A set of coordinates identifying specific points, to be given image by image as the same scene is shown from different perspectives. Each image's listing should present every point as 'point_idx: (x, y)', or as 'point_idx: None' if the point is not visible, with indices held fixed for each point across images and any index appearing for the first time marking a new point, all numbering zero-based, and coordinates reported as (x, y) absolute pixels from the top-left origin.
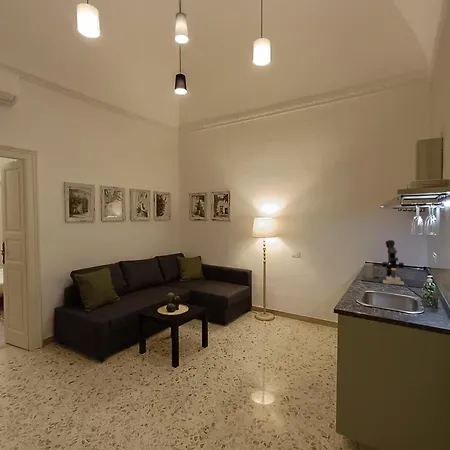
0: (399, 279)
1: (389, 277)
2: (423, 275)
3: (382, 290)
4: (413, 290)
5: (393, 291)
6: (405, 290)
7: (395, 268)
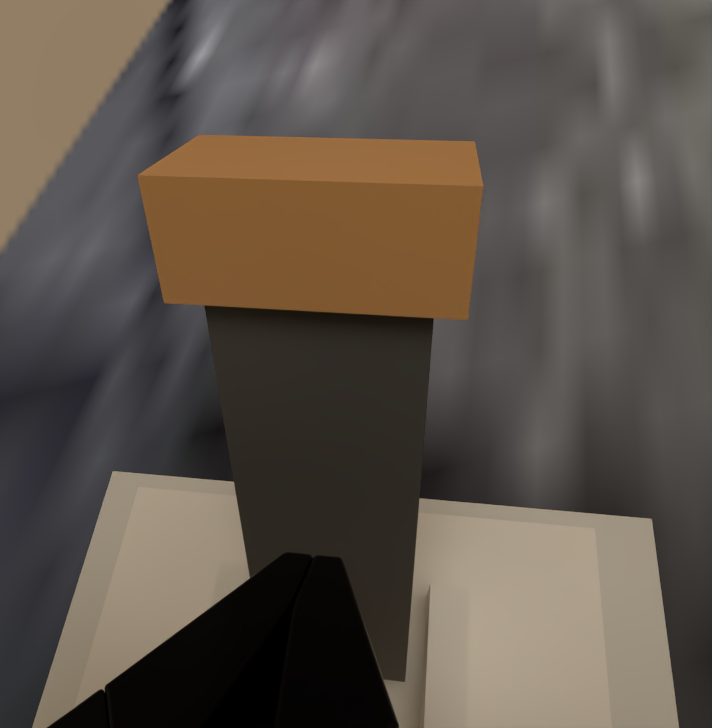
0: (176, 496)
1: (483, 689)
2: None
3: (617, 31)
4: (133, 138)
5: (457, 29)
6: (262, 110)
7: (180, 167)
